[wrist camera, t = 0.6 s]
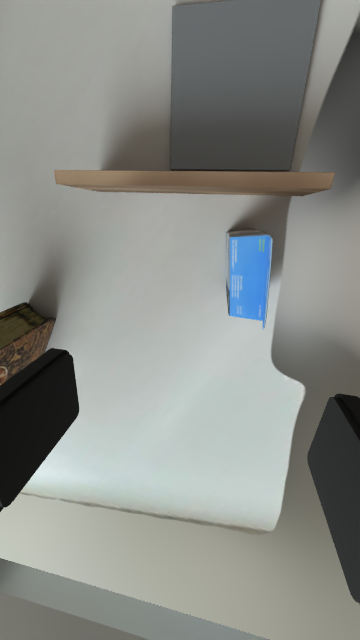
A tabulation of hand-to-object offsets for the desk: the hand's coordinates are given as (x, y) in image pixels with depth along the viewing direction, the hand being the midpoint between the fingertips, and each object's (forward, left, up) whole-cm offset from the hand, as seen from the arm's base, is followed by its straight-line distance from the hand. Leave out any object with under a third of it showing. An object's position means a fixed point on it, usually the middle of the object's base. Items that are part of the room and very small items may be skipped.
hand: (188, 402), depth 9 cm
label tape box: (0, +3, -28) cm, 28 cm away
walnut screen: (-9, -4, -28) cm, 29 cm away
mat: (-18, 0, -28) cm, 33 cm away
